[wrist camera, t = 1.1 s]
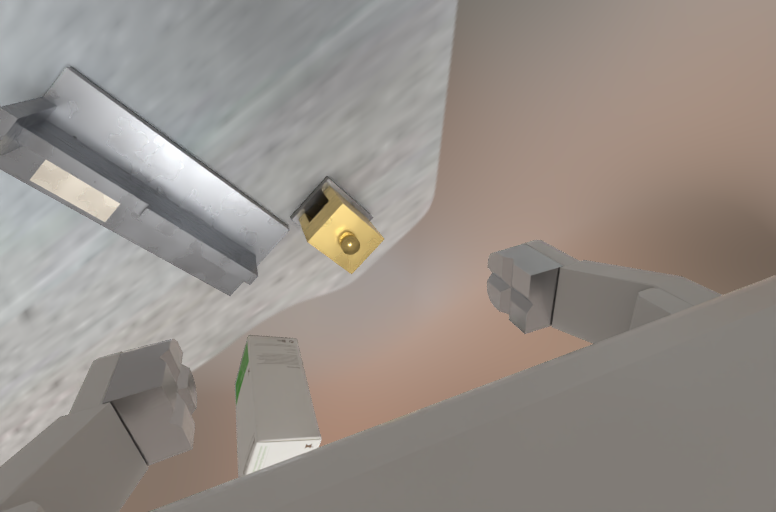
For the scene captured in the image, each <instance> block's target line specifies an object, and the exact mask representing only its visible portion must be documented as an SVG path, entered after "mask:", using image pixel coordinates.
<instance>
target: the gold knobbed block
mask: <svg viewBox="0 0 776 512" xmlns="http://www.w3.org/2000/svg"><path fill="white" fill-rule="evenodd" d="M323 193H324V194H325V196H326V197H327V199H328V200H329V202H328V203H327V204H326V205H325V206H324V207H323V208H322V209H321V210H320V212H319V213H318V214H317V215H316V216H315V217H314V218H313V219H312V218H311V217H309V216H308V215H307V214H306V213H304V214H303V215H302V216H301V217H300V218H299V219H298V220H299V222H300V225H301V227H302V229H303V232H304V234H305V237H306V239H307V242H308V243H310V244H311V245H312V246H314V247H315V248H316V249H318V250H319V251H321V252H322V253H323V254H325V255H326V256H327V257H329V258H330V259H331V260H333V261H334V262H336V263H337V264H338V265H340V266H341V267H342V268H344V269H345V270H347V271H348V272H349V273H351V274H352V273H353V272H354V271H355V270H356V269H357V268H358V267H359V266H360V265H361V264H362V263H363V261H364V260H365V259H366V258H367V257H368V256H369V255H370V254H371V253H372V252H373V251H374V250H375V249H376V248H377V247H378V246H379V244H380V243H381V242H382V241H383V240H384V238H383V237H382V235H381V234H380V233H379V232H378V231H377V229H376V228H375V227H374V226H373V225H372V223H371V222H370V221H369V220H368V218H366V217H365V216H364V215H363V214H362V213H361V212H360V211H358V210H357V209H356V208H355V207H354V206H353V205H352V204H350V203H349V202H348V201H347V200H346V199H345V198H344V197H342V196H341V195H340V194H339V193H338V192H337V191H335V190H334V189H333V188H332V187H331V186H330V185H329V186H328V187H327V188H326V189H325V191H324V192H323Z"/></svg>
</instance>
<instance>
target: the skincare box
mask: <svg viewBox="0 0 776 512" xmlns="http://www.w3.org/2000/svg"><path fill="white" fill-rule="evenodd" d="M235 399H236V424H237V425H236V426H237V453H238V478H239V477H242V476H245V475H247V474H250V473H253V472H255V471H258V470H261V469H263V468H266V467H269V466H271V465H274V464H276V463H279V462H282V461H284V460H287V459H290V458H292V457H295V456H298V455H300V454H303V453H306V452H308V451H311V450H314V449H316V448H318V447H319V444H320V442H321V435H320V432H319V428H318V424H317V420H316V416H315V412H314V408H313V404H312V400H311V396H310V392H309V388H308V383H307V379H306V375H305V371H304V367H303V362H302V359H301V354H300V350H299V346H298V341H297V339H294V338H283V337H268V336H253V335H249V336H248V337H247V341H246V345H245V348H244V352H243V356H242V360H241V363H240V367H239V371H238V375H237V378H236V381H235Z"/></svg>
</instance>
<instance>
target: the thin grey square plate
mask: <svg viewBox="0 0 776 512" xmlns="http://www.w3.org/2000/svg"><path fill="white" fill-rule="evenodd" d="M329 185H330V186H331V187H332V188H333V189H334V190H335V191H337V192H338V193H339V194H340V195H341V196H342V197H344V198H345V199H346V200H347V201H348V202H349V203H350V204H352V205H353V206H354V207H355V208H356V209H357V210H358V211H360V212H361V213H362V214H363V215H364V216H365V217H366V218H368V220H369V221H370V220H371V219H372V218H373V217H372V216H371V215H370V214H369V213H368V212H367V211H366V210H365V209H364V208H363V207H361V206H360V205H359V204H358V203H357V202H356V201H355V200H353V199H352V198H351V197H350V196H349V195H348V194H347V193H346V192H344V191H343V190H342V189H341V188H340V187H339V186H338V185H337V184H335V183H334V182H333V181H332V180H331V179H330V178H329V177H328V176H327V177H326V178H325V179H324V180H323V181H322V182H321V184H320V185H319V186H318V187H317V188H316V189H315V190H314V191H313V192H312V194H311V195H310V196H309V197H308V198H307V199H306V200H305V201H304V202H303V204H302V205H301V206H300V207H299V208H298V209H297V210H296V211H295V212H294V214H293V215H292V216H291V219H292V221H294V222H295V223H296V224H298V225H299V226H300V227H301V225H300V222H299V220H298V219H299V218H300V217H301V216H302V215H303V214H304V213H306V214H307V215H308V216H309V217H311V218H312V219H313V218H314V217H315V216H316V215H317V214H318V213H319V212H320V210H321V209H322V208H323V207H324V206H325V205H326V204H327V203H328V202H329V200H328V199H327V197H326V196H325V194H324V193H323V192H324V191H325V189H326V188H327V187H328V186H329Z"/></svg>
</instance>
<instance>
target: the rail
mask: <svg viewBox="0 0 776 512" xmlns="http://www.w3.org/2000/svg"><path fill="white" fill-rule="evenodd" d="M0 169H1V170H3V171H4V172H6V173H8V174H10V175H12V176H13V177H15V178H17V179H19V180H21V181H23V182H24V183H26V184H28V185H30V186H32V187H33V188H35V189H37V190H39V191H41V192H42V193H44V194H46V195H48V196H50V197H51V198H53V199H55V200H57V201H59V202H61V203H62V204H64V205H66V206H68V207H70V208H71V209H73V210H75V211H77V212H79V213H80V214H82V215H84V216H86V217H88V218H89V219H91V220H93V221H95V222H97V223H99V224H100V225H102V226H104V227H106V228H108V229H109V230H111V231H113V232H115V233H117V234H118V235H120V236H122V237H124V238H126V239H127V240H129V241H131V242H133V243H135V244H137V245H138V246H140V247H142V248H144V249H146V250H147V251H149V252H151V253H153V254H155V255H156V256H158V257H160V258H162V259H164V260H165V261H167V262H169V263H171V264H173V265H175V266H176V267H178V268H180V269H182V270H184V271H185V272H187V273H189V274H191V275H193V276H194V277H196V278H198V279H200V280H202V281H203V282H205V283H207V284H209V285H211V286H213V287H214V288H216V289H218V290H220V291H222V292H223V293H225V294H227V295H229V296H231V295H232V293H233V292H234V291H235V290H236V289H237V288H238V287H239V286H240V285H241V283H242V282H243V281H244V282H246V283H248V284H249V285H250V284H251V283H252V282H253V281H254V280H255V279H256V278H257V277H258V272H257V266H258V265H259V264H260V262H261V261H262V260H263V259H264V258H265V257H266V256H267V255H268V254H269V252H270V251H271V250H272V249H273V248H274V247H275V246H276V245H277V244H278V242H279V241H280V240H281V239H282V238H283V237H284V236H285V235H286V234H287V232H288V231H289V227H288V226H287V225H286V224H285V223H283V222H282V221H281V220H279V219H278V218H276V217H275V216H274V215H272V214H271V213H270V212H268V211H267V210H266V209H264V208H263V207H261V206H260V205H259V204H257V203H256V202H255V201H253V200H252V199H251V198H249V197H248V196H246V195H245V194H244V193H242V192H241V191H240V190H238V189H237V188H236V187H234V186H233V185H232V184H230V183H229V182H227V181H226V180H225V179H223V178H222V177H221V176H219V175H218V174H217V173H215V172H214V171H212V170H211V169H210V168H208V167H207V166H206V165H204V164H203V163H202V162H200V161H199V160H197V159H196V158H195V157H193V156H192V155H191V154H189V153H188V152H187V151H185V150H184V149H183V148H181V147H180V146H178V145H177V144H176V143H174V142H173V141H172V140H170V139H169V138H168V137H166V136H165V135H163V134H162V133H161V132H159V131H158V130H157V129H155V128H154V127H153V126H151V125H150V124H148V123H147V122H146V121H144V120H143V119H142V118H140V117H139V116H138V115H136V114H135V113H134V112H132V111H131V110H129V109H128V108H127V107H125V106H124V105H123V104H121V103H120V102H119V101H117V100H116V99H114V98H113V97H112V96H110V95H109V94H108V93H106V92H105V91H104V90H102V89H101V88H99V87H98V86H97V85H95V84H94V83H93V82H91V81H90V80H89V79H87V78H86V77H85V76H83V75H82V74H80V73H79V72H78V71H76V70H75V69H74V68H72V67H66V68H65V69H64V70H63V72H62V73H61V74H60V75H59V77H58V78H57V79H56V81H55V82H54V83H53V84H52V86H51V87H50V88H49V90H48V91H47V92H46V93H45V95H44V96H43V97H40V98H36V99H32V100H28V101H23V102H19V103H15V104H10V105H6V106H2V107H0Z"/></svg>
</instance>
